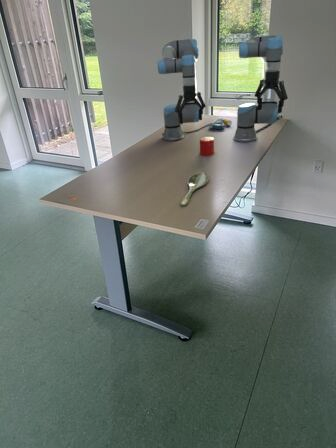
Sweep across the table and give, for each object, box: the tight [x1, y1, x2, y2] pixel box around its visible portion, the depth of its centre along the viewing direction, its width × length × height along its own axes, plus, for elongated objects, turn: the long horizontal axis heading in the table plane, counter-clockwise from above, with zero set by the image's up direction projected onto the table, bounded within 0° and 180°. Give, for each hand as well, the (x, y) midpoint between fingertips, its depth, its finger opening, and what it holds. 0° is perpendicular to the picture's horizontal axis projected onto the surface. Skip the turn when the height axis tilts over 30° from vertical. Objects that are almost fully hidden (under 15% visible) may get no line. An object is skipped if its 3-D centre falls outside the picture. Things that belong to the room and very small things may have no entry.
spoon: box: [180, 171, 210, 207], centre depth 170 cm, size 35×11×2 cm, turn 159°
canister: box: [199, 136, 215, 157], centre depth 212 cm, size 9×9×10 cm
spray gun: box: [209, 118, 233, 130], centre depth 263 cm, size 21×4×15 cm
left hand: (190, 121), depth 206 cm, fingers open, 13 cm apart
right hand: (269, 111), depth 190 cm, fingers open, 13 cm apart
